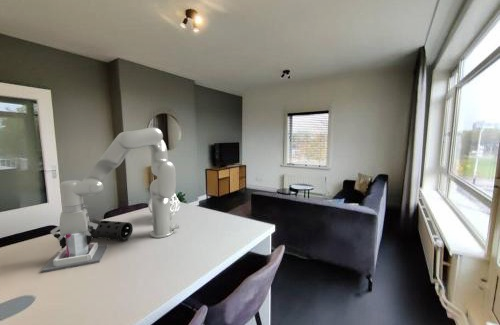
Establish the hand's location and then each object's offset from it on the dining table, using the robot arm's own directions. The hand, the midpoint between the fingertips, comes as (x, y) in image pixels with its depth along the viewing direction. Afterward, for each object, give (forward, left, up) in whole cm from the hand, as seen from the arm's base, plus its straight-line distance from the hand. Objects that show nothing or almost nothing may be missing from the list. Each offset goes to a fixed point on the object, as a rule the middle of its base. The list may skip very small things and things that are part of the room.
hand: (76, 245), depth 99 cm
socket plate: (0, 0, -6) cm, 6 cm away
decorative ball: (-38, -38, -6) cm, 54 cm away
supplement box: (0, 0, -5) cm, 5 cm away
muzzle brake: (-7, -18, -7) cm, 21 cm away
